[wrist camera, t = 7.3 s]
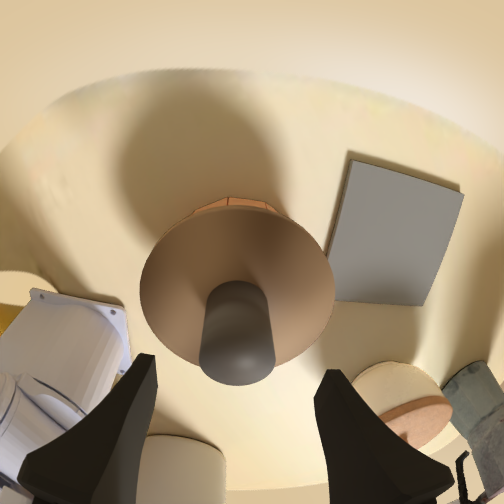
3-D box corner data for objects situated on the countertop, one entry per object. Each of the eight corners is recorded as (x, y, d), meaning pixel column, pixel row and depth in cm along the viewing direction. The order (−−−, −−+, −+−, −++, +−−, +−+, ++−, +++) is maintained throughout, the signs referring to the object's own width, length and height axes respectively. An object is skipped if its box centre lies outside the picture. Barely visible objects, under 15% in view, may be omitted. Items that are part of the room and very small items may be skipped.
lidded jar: (320, 366, 25) (344, 455, 17) (425, 328, 24) (472, 399, 16) (334, 421, 30) (351, 489, 21) (418, 389, 29) (447, 450, 20)
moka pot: (509, 344, 28) (577, 444, 10) (446, 418, 34) (489, 514, 16) (478, 339, 26) (560, 466, 8) (406, 422, 32) (450, 538, 14)
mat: (314, 294, 22) (316, 298, 21) (350, 159, 18) (353, 160, 17) (419, 303, 23) (422, 306, 22) (460, 192, 19) (464, 194, 18)
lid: (146, 352, 18) (128, 410, 14) (145, 191, 14) (105, 228, 9) (303, 369, 19) (316, 427, 15) (354, 223, 15) (396, 268, 10)
